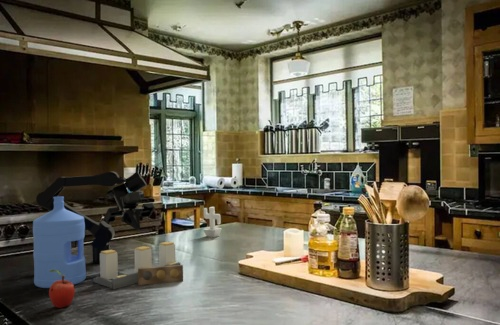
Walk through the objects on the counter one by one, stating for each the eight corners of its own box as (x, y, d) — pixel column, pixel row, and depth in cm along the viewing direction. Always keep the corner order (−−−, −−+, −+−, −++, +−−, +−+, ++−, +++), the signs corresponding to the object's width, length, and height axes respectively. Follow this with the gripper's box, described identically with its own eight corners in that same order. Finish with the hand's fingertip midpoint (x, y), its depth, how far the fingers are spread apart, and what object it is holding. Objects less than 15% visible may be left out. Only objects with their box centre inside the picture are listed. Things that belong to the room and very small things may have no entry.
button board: (93, 281, 138) (93, 271, 138) (159, 265, 158) (158, 257, 158) (114, 289, 130) (113, 278, 130) (180, 271, 150) (180, 261, 150)
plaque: (138, 285, 134) (138, 269, 134) (138, 283, 135) (138, 268, 135) (183, 281, 137) (182, 265, 137) (182, 280, 138) (182, 264, 138)
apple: (80, 301, 119) (79, 266, 119) (70, 310, 112) (69, 272, 112) (52, 302, 119) (51, 267, 118) (41, 311, 112) (40, 273, 112)
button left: (100, 277, 137) (99, 251, 137) (111, 275, 140) (110, 249, 140) (106, 280, 135) (106, 253, 135) (117, 277, 138) (117, 250, 138)
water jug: (29, 291, 130) (26, 200, 130) (39, 277, 145) (37, 196, 145) (83, 286, 134) (81, 197, 134) (88, 273, 149) (86, 194, 149)
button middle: (134, 273, 142) (134, 247, 142) (145, 271, 145) (144, 245, 145) (141, 275, 139) (141, 249, 139) (152, 272, 142) (151, 247, 142)
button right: (159, 267, 149) (158, 243, 149) (168, 265, 152) (168, 241, 152) (166, 269, 147) (165, 244, 147) (175, 266, 150) (175, 242, 150)
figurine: (217, 237, 212) (216, 208, 212) (201, 236, 216) (200, 207, 216) (224, 235, 219) (223, 206, 219) (208, 234, 223) (207, 205, 223)
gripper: (106, 186, 156) (122, 218, 148) (151, 182, 169) (167, 212, 161) (98, 206, 162) (112, 238, 154) (142, 201, 175) (157, 230, 167)
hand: (138, 229), depth 159 cm, fingers closed
